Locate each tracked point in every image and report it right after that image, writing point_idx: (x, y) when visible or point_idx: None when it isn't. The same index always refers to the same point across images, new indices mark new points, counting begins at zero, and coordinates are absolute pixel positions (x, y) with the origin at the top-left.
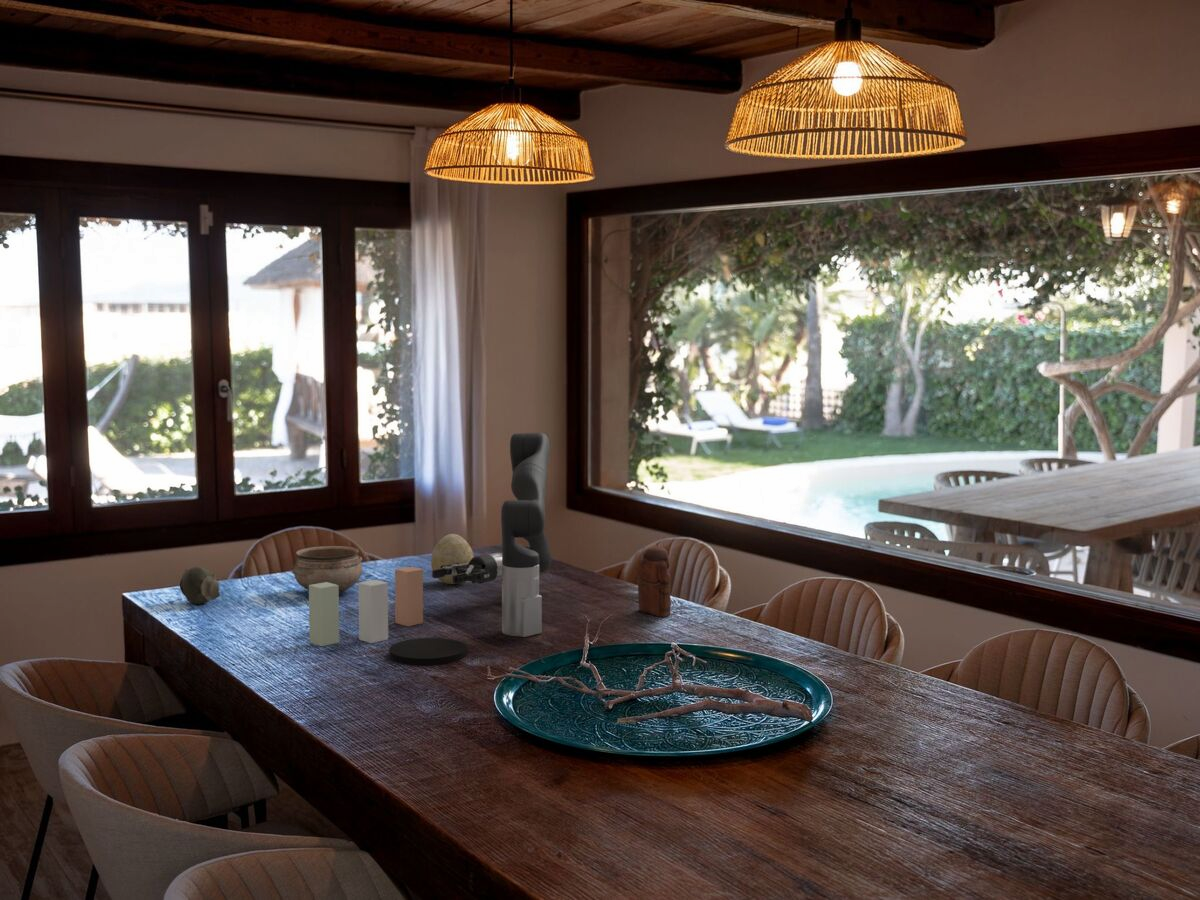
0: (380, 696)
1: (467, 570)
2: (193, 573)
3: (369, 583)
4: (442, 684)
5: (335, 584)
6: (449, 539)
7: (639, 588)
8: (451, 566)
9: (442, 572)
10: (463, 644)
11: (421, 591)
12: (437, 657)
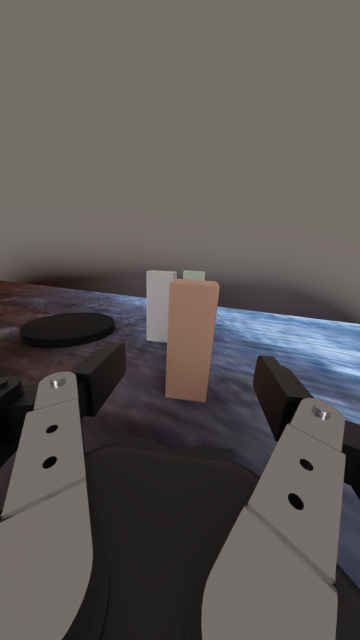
0: (74, 301)
1: (73, 401)
2: None
3: (163, 271)
4: (35, 309)
5: (188, 271)
6: None
7: None
8: (317, 442)
9: (275, 403)
10: (26, 334)
11: (168, 333)
12: (51, 316)
